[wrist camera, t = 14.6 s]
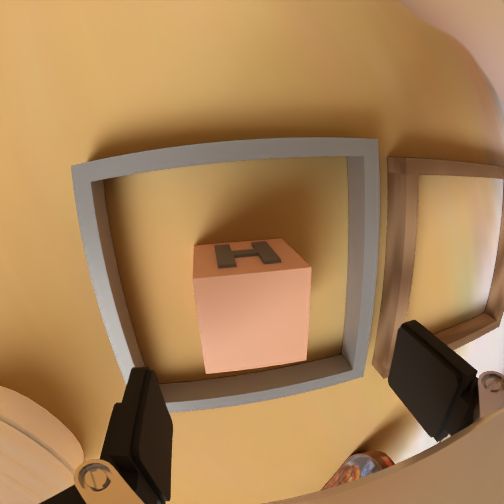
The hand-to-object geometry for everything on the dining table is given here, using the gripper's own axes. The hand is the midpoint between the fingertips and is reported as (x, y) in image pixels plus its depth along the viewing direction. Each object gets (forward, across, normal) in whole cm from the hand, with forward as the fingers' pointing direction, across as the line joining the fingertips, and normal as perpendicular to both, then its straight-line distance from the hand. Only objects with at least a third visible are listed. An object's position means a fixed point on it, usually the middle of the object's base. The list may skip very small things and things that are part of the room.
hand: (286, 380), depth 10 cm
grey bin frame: (+8, +1, -1) cm, 8 cm away
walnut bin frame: (+9, -17, 0) cm, 19 cm away
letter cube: (+8, +1, -1) cm, 8 cm away
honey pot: (+8, +24, +13) cm, 28 cm away
